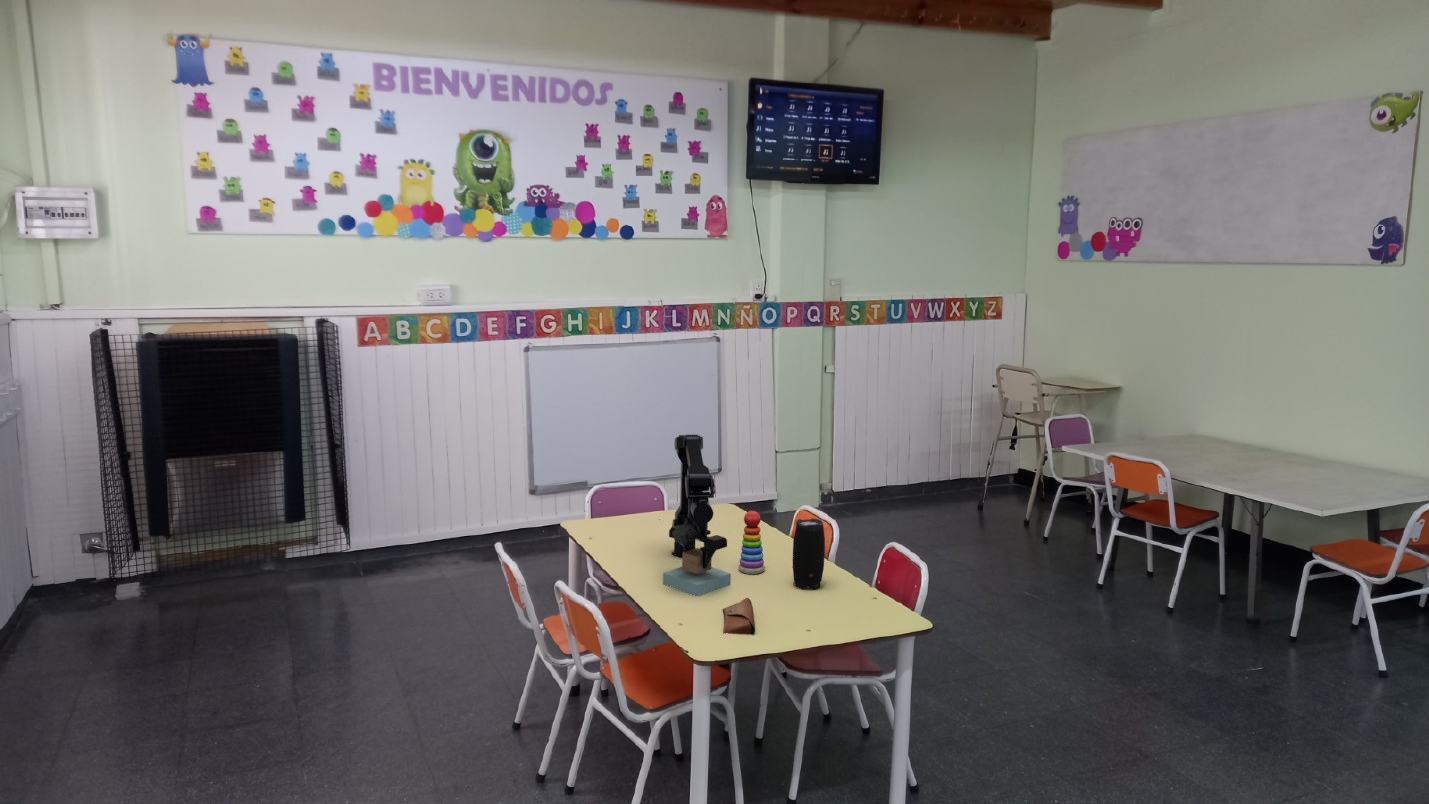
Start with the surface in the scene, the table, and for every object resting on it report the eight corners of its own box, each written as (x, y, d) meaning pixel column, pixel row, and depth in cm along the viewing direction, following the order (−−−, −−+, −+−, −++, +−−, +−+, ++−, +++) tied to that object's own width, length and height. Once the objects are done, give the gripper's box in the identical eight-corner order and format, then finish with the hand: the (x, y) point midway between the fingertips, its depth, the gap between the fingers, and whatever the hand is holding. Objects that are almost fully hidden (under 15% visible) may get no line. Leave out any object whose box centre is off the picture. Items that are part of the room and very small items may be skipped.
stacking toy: (768, 569, 293) (770, 510, 290) (758, 576, 286) (760, 516, 283) (744, 565, 296) (746, 506, 293) (734, 572, 289) (736, 513, 286)
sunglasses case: (720, 607, 260) (733, 588, 259) (742, 620, 261) (755, 601, 260) (722, 634, 242) (736, 613, 242) (745, 648, 243) (759, 626, 242)
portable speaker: (820, 592, 274) (822, 527, 271) (788, 588, 276) (790, 523, 273) (825, 582, 282) (828, 519, 279) (794, 579, 285) (796, 516, 281)
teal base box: (696, 574, 288) (696, 562, 287) (730, 586, 278) (730, 573, 278) (662, 585, 278) (663, 572, 277) (696, 598, 268) (697, 584, 268)
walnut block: (696, 564, 282) (696, 548, 281) (711, 569, 277) (711, 552, 277) (682, 568, 277) (682, 552, 276) (696, 574, 273) (697, 557, 272)
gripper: (655, 512, 275) (655, 564, 278) (701, 526, 263) (700, 580, 265) (682, 505, 283) (682, 555, 286) (729, 518, 271) (727, 571, 273)
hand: (697, 565), depth 277 cm, fingers closed on walnut block, 6 cm apart
